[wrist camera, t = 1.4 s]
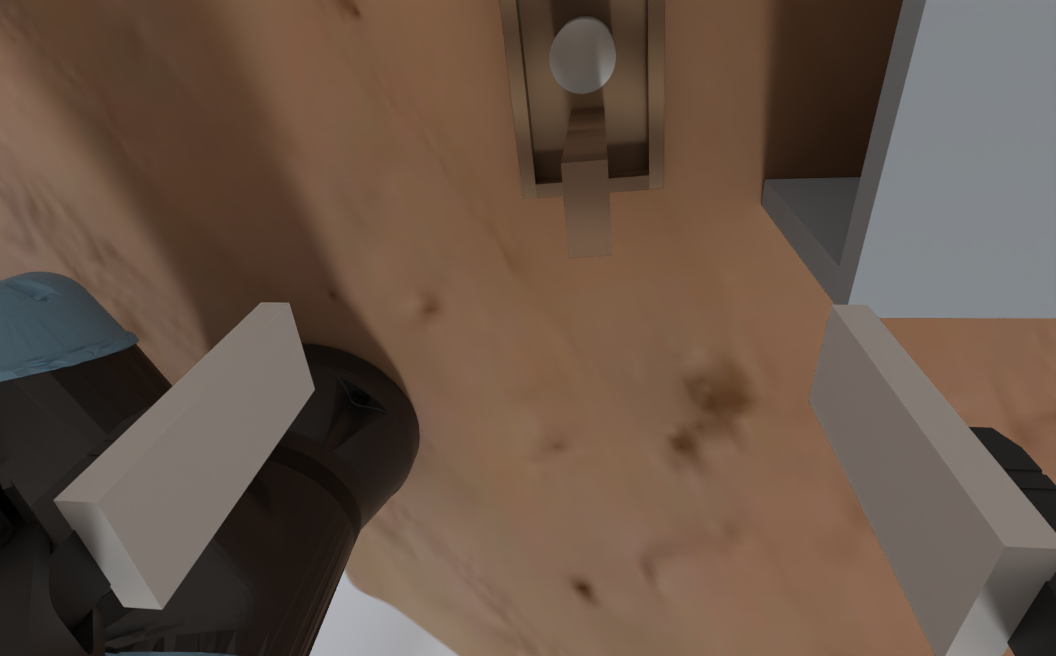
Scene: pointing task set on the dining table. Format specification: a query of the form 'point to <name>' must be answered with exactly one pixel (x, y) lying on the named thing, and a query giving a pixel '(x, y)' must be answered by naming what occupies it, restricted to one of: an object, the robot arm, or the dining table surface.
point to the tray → (587, 105)
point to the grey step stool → (945, 173)
